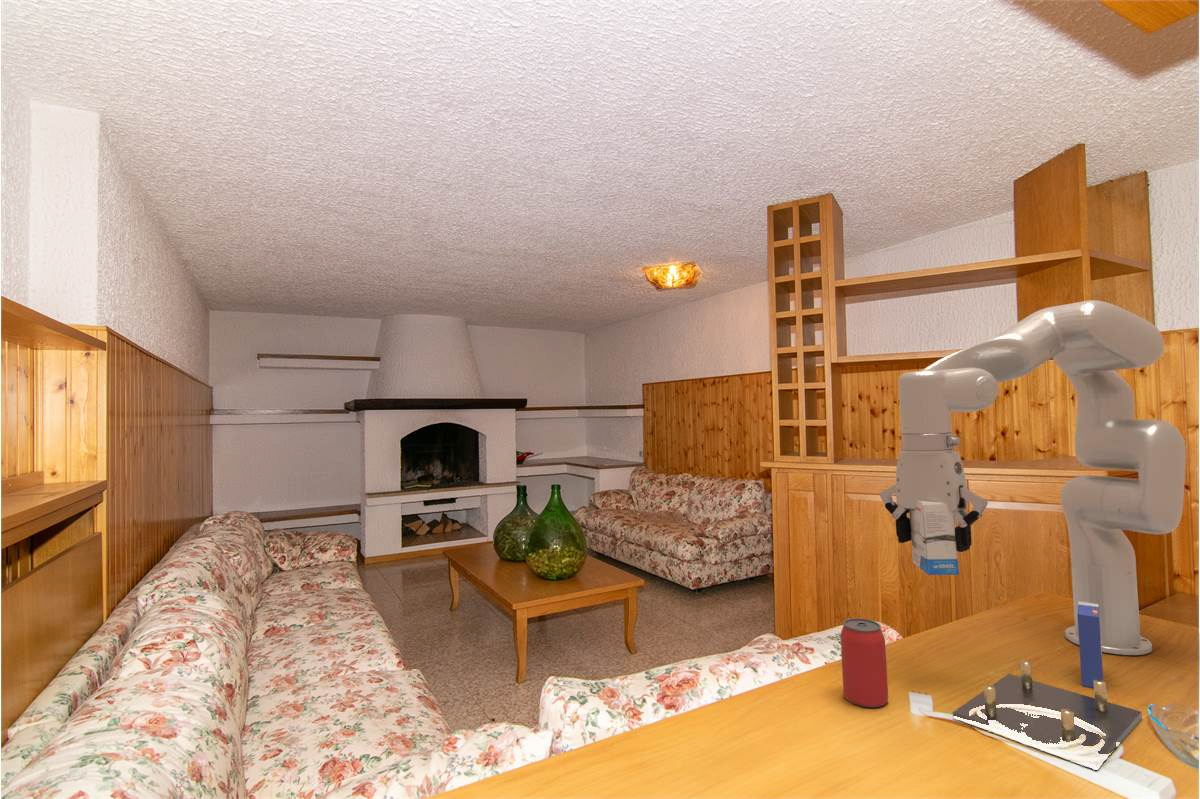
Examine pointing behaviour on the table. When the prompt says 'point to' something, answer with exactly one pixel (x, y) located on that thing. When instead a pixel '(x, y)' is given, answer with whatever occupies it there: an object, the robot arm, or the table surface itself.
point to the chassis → (1070, 704)
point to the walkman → (1089, 643)
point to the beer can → (864, 663)
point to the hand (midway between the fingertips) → (932, 545)
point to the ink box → (933, 538)
